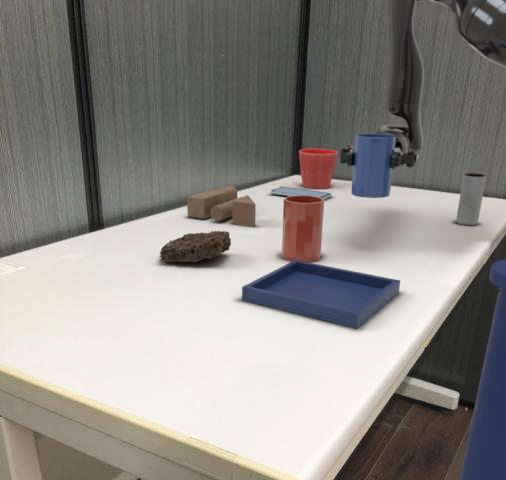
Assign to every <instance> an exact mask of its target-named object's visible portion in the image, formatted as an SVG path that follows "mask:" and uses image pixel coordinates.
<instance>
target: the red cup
mask: <svg viewBox="0 0 506 480" xmlns="http://www.w3.org/2000/svg"><path fill="white" fill-rule="evenodd" d="M282 208H283V211H282V235H281V236H282V237H281V238H282V239H281V257H282V258H283V259H285V260H286V261H287V260H288V261H291V262H292V261H294V260H298V261H303V262H308V263H311V262H317V261H319V260H320V259H321V255H322V245H323V244H322V243H323V229H324V214H325V199H323V198H320V197H316V196H306V195H296V196H286V197H284V198H283V207H282Z"/></svg>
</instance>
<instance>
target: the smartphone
mask: <svg viewBox="0 0 506 480" xmlns="http://www.w3.org/2000/svg"><path fill="white" fill-rule="evenodd" d="M270 194H273V195H280V196H286V197H288V196H296V195H306V196H316V197H320V198H323V199H324V200H327V199H329V198H331V197H332V193H330V192H326V191H318V190H311V189H304V188H296V187H291V186H290V187H289V186H279V187H276V188H273V189H270Z"/></svg>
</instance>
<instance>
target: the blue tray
mask: <svg viewBox="0 0 506 480" xmlns="http://www.w3.org/2000/svg"><path fill="white" fill-rule="evenodd" d="M400 286H401V280H400V279H395V278H391V277H390V278H389V277H384V276H379V275H374V274H370V273H365V272H358V271H354V270H348V269H343V268H339V267H333V266H328V265H324V264H317V263H313V262H303V261H298V260H294V261H291V262H288V263H287V264H284V265H282V266H281V267H279V268H277V269H274V270H273V271H271V272H269V273H267V274H265V275H263V276H261V277H259V278H256V279H255V280H253V281H251V282H249V283H247V284H245V285H243V286H241V300H242V301H245V302H249V303H251V304H257V305H261V306H264V307H269V308H272V309H277V310H282V311H285V312H289V313H293V314H296V315H301V316H305V317H309V318H313V319H317V320H321V321H326V322H329V323H332V324H333V323H334V324H337V325H342V326H346V327H349V328H352V329H358V328H359V327H360V326H361V325H362V324H364V323H365V322H366V321H367V320H369V319H370V318H371V317H373V316H374V315H375V314H376V313H377V312H378V311H379V310H381V308H383V307H385V305H387V304H388V303H389V302H390V301H391V300H392V299H394V298H395V297H396V296H397V295H398V294H399V293H400Z"/></svg>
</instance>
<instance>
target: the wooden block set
mask: <svg viewBox="0 0 506 480" xmlns="http://www.w3.org/2000/svg"><path fill="white" fill-rule="evenodd" d="M186 204H187V217H188V218H193V219H200V220H207V219H209V218H211V219H212V220H213V221H215V222H220V221H223V220H226V219H228V218H230V217H232V221H231V222H232V224H233V225H237V226H246V227H253V228H255V227H256V203H255V202H254V200H253V199H252V198H251V197H250V196H249V194H246V195H244V196H240V197H238V189H237V188H236V187H234V186H232V185H226V186H223V187H222V186H221V187H219V188H216V189H211V190H210V189H209V190H206V191H201V192H199V193H195V194H192V195H189V196H187V197H186Z"/></svg>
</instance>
